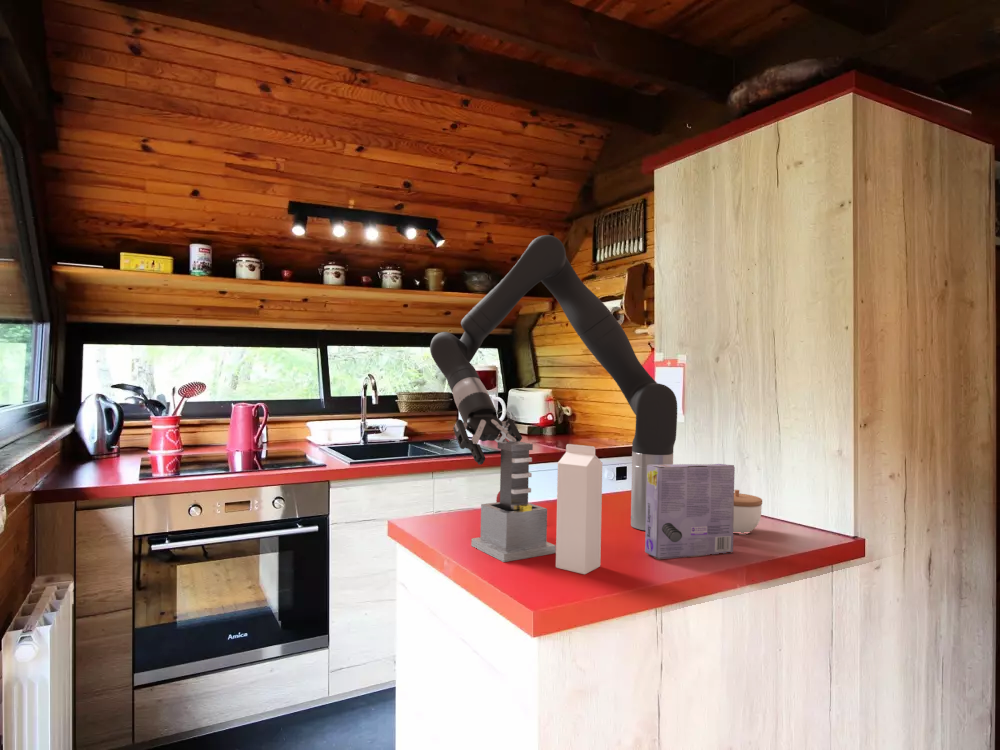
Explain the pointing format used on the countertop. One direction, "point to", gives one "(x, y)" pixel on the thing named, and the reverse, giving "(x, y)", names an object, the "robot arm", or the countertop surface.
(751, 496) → the lidded jar
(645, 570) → the countertop surface
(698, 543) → the cake pan box
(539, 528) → the stand
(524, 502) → the column
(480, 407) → the robot arm
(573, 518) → the milk
